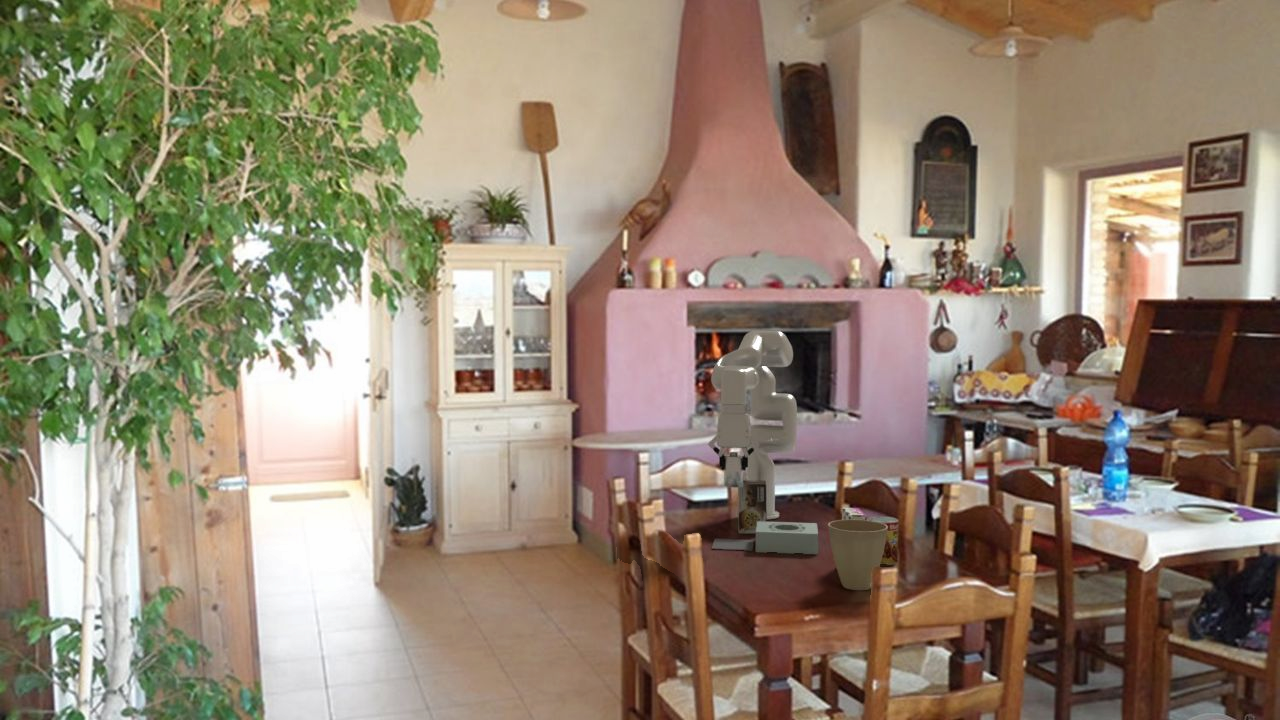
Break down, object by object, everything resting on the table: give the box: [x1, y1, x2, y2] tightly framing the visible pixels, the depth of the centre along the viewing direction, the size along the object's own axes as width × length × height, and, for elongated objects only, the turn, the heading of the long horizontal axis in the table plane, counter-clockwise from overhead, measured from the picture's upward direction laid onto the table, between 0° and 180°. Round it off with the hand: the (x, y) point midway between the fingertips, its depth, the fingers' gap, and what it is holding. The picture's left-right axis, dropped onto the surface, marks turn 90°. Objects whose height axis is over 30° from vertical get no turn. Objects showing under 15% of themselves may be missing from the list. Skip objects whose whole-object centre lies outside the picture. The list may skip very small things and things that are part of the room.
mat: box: [711, 538, 755, 552], centre depth 287 cm, size 12×12×1 cm
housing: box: [755, 521, 819, 555], centre depth 285 cm, size 14×18×6 cm
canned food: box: [869, 515, 899, 566], centre depth 269 cm, size 8×8×12 cm
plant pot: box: [827, 519, 888, 591], centre depth 244 cm, size 15×15×16 cm
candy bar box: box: [841, 507, 868, 520], centre depth 259 cm, size 11×5×16 cm, turn 178°
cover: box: [723, 451, 744, 488], centre depth 286 cm, size 6×6×10 cm
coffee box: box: [737, 479, 768, 534], centre depth 305 cm, size 9×6×16 cm
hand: (733, 468), depth 286 cm, fingers closed on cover, 5 cm apart
